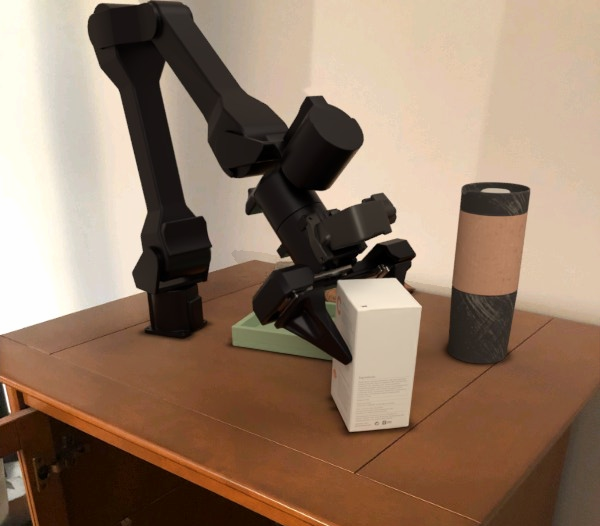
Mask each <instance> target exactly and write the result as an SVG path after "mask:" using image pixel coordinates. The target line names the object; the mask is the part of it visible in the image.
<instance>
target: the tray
mask: <svg viewBox="0 0 600 526" xmlns="http://www.w3.org/2000/svg"><path fill="white" fill-rule="evenodd" d="M325 303H326V309H327V311H328V313H329V314H330V316H331V318H332V320H333V321H334V323H335V311H336V303H332V302H325ZM274 323H275V322H273V323H270V324H267V325H264V326H263V325H262V324H261V323H260V322H259V320H258V318H257V317H256V315H255V313H254V311H253V310H252V312H250V313H249V314H247V315H246V316H245V317H243V318H242V319H240V320H239V321H237V322H236V323H234V324H233V325H231V341H232V342H231V343H232V346H235V347H241V348H247V349H248V348H249V349H254V350H261V351H267V352H273V353H281V354H288V355H293V356H301V357H307V358H314V359H321V360H326V361H333V357H331V356H330V355H328V354H327V353H325V352H324V351H322V350H320V349H319V348H317V347H316V346H314V345H313V344H311V343H309V342H308V341H306V340H304V339H302V338H300V337H299V336H297V335H295V334H293V333H291V332H289V331H287V330H286V329H284V328H280V329H276V328H275V326H274Z"/></svg>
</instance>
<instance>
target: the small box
mask: <svg viewBox="0 0 600 526" xmlns="http://www.w3.org/2000/svg"><path fill="white" fill-rule="evenodd" d="M422 313H423V306H422V305H421V304H420V303H419V302H418V300H416V298H414V296H413V295H412V294H411V292H408V291H407V290H406V289H405V288H404V287H403V286H402V284H401V283H400V282H399V281H398V280H397V279H396V278H382V279H354V280H338V281H337V292H336V311H335V325H336V327H337V328H338V330H339V332H340V334H341V335H342V337H343V339H344V341H345V342H346V344H347V346H348V348H349V350H350V353H351V355H352V358H353V360H352V362H351V363H350V364H348V365H344V364H342V363H341V362H339V361H337V360H336V359H334V358H333V360H332V365H331V368H332V370H331V384H330V385H331V386H330V394H331V395H330V396H331V397H332V399H333V401H334V403H335V405H336V407H337V409H338V412H339V413H340V416H341V418H342V420H343V422H344V424H345V426H346V428H347V431H348V432H350V433H352V432H366V431H375V430H376V431H377V430H387V429H395V428H397V429H398V428H406V427H408V426H409V424H410V418H411V417H410V416H411V409H412V399H413V389H414V380H415V373H416V364H417V357H418V356H417V355H418V347H419V337H420V330H421V329H420V328H421V320H422Z"/></svg>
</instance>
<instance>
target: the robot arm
mask: <svg viewBox="0 0 600 526" xmlns="http://www.w3.org/2000/svg"><path fill="white" fill-rule="evenodd" d="M86 28H87V35H88V40H89V42H90V44H91V45H92V48H93V51H94V54H95V57H96V60H97V64H98V66H99V68H100V69H101V71H102V72H103V73H104V74H105V75H106V77H107V78H108V80H110V82H112V84H113V85H114V86H115V87H116V89H117V90H118V93H119V96H120V101H121V104H122V108H123V113H124V118H125V121H126V126H127V130H128V131H127V132H128V135H129V139H130V143H131V148H132V152H133V155H134V160H135V163H136V168H137V173H138V177H139V182H140V186H141V189H142V190H141V191H142V195H143V198H144V204H145V208H146V215H145V218H144V221H143V225H142V229H141V231H140V236H139V237H140V242H141V251H142V252H141V254H140V256H139V257H138V259H137V261H136V264H135V266H134V268H133V269H132V271H131V276H132V279H133V282H134V286H135V288H136V289H138V290H140V291H143V292H144V293H145V292H146V298H147V306H148V313H149V314H148V316H149V323H150V324H149V325H147V326H145V327H144V328H143V331H144V333H146V334H154V335H160V336H167V337H173V338H181V339H183V338H184V339H185V338H187V337H188V336H190V335H192V334H193V333H194V332H196V331H197V330H199V329H201V328H203V327H204V326H205V325H207V324H208V320H207V319H206V318H204V310H203V309H204V307H203V297H202V295H201V294H200V293H199V283H200V284H201V283H206V282H207V283H208V278H209V273H210V266H211V261H212V248H213V244H212V242H211V240H210V236H209V233H208V232H209V231H208V222H207V220H206V218H205V217H204V215H198V216H197V215H195V212H193V211H192V210H191V209H190V207H189V206H188V205H187V202H186V199H185V194H184V189H183V185H182V180H181V176H180V170H179V167H178V161H177V157H176V152H175V148H174V144H173V138H172V135H171V129H170V126H169V121H168V117H167V116H168V115H167V111H166V106H165V103H164V97H163V93H162V88H161V78H162V75H163V73H164V69H165V66H166V64H167V65H168V67H169V68H170V69H171V70H172V72H173V74H174V75H175V76H176V78H177V80H178V81H179V83H180V84H181V86H182V87H183V88H184V89H185V91H186V93H187V94H188V95H189V97H190V98H191V100H192V101H193V103H194V104H195V106H196V107H197V108H198V110H199V111H200V113H201V114H202V116H203V119H204V120H205V122H206V123H207V138H206V139H207V144H208V145H209V148H210V149H211V151H212V154H213V155H214V157H215V160H216V161H217V164H218V165H219V167H220V169H221V170H222V172H223V173H224V174H225V175H226V176H227V177H229V178H230V179H246V178H252V177H253V178H254V177H260V176H261V178H260V179H259V181H258V182H257V184H256V186H254V187H249V188H248V189H247V199H246V202H245V205H244V206H245V208H244V211H245V214H246V215H247V216H253V215H254V216H255V215H259V214H263V216H264V218H265V219H266V221H267V222H268V224H269V226H270V227H271V229H272V230H273V232H274V234H275V235H276V237H277V239H278V240H279V242H280V245H279V246H278V248H277V249H276V253H277V255H278V256H279V258H280V259H282V260H283V259H285V258H290V260H291V262H293V263H294V264H295V265H292V266H289V267H285V268H281V269H277V270H275V269H273V270H271V272H270V273H269V275H268V276H267V278H266V279H265V280H264V281H263V283H262V285H260V287H259V288H258V290H257V291H256V292H255V294H254V295H253V296H252V300H251V304H252V312H253V311H254V313H255V315H256V317H257V318H258V320H259V322H260V323H261V324H262V325H263V326H264V325H267V324H270V323H273V322H275V323H274V326H275V328H276V329H280V328H284V329H286V330H287V331H289V332H291V333H293V334H295V335H297V336H299V337H300V338H302V339H304V340H306V341H308V342H309V343H311V344H313V345H314V346H316V347H317V348H319V349H320V350H322V351H324V352H325V353H327V354H328V355H330V356H331V357H333V358H334V359H336V360H337V361H339V362H341V363H342V364H344V365H348V364H350V363H351V362H352V360H353V358H352V355H351V353H350V350H349V348H348V346H347V344H346V342H345V341H344V339H343V337H342V335H341V334H340V332H339V330H338V328H337V327H336V325H335V323H334V321H333V320H332V318H331V316H330V314H329V313H328V311H327V309H326V303H325V291H327V290H330V289H334V288H337V281H338V280H354V279H382V278H396V279H397V280H398V281H399V282H400V283H401V284H402V286H403V287H404V288H405V286H404V282H405V283H406V276H407V273H408V271H409V270H410V269H411V268H412V266H413V265H412V264H413V263H412V262H413V260H414V259H415V258H416V257H417V253H416V252H415V251H414V249H413V247H412V245H411V244H410V242H409V241H408V240H407V239H405V238H400V237H396V238H392V239H388V240H385V241H384V240H383V241H380V242H377V243H376V244H375V245H374V246H372V248H371V249H370V250H369V251H368V252H367V253H366V254H365V255H364V256H363V258H362V259H361V260H358V258H357V257H358V256H359V255H361V254H363V253H364V252H365V251H366V250H367V248H368V247H369V245H368V244H367V243H366V242H367V241H370V240H372V239H374V238H377V237H379V236H383V235H384V236H387V235H389V234H391V233H393V229H392V225H393V224H395V223H396V221H397V217H398V215H397V207H395V206H394V204H393V202H392V201H391V200H390V199H389V197H388V196H387V195H386V194H385V193H384V192H378V193H373V194H371V195H370V197H366V198H365V197H364V198H363V199H361V203H355V204H353V205H351V206H347V207H345V208H344V209H338V208H337V207H336V208H331V209H328V208H327V207H326V206H325V204H324V202H323V200H322V199H321V198H320V196H319V195H318V193H317V192H325V191H327V190H329V189H331V188H332V186H334V184H335V182H337V180H338V178H339V177H340V176H341V174H342V173H343V172H344V170H345V169H346V168H347V166H348V165H349V164H350V163H351V161H352V159H353V158H354V157H355V156H356V154H357V153H358V152H359V150H360V149H361V148H362V146H363V145H364V142H365V136H364V132H363V129H362V127H361V125H360V123H359V122H358V120H357V119H356V118H354V117H351V116H350V115H349V114H348V113H346V112H345V111H344V110H343V109H341V108H339V107H337V106H336V105H333V104H330V103H328V102H327V100H326V98H325V97H324V95H307V96H305V97H304V100H303V101H302V103H301V105H300V107H299V108H298V112H297V114H296V116H295V117H294V119H293V120H292V122H291V124H290V126H288V125H287V123H286V122H285V120H283V119H282V118H281V116H280V115H278V114H277V113H276V111H274V109H272V108H271V107H270V105H268V104H267V103H265V102H264V101H261V100H259V99H258V98H256V97H254V96H252V95H250V94H248V93H247V91H245V89H243V88H242V87H241V85H240V84H239V83H238V81H237V80H236V78H235V77H234V75H233V74H232V73H231V71H230V70H229V68H228V67H227V66H226V64H225V63H224V61H223V60H222V58H221V57H220V55H219V54H218V52H216V50H215V49H214V47H213V46H212V44H211V43H210V42H209V40H208V39H207V37H206V36H205V35H204V33H203V32H202V30H201V29H200V28H199V26H198V25H197V23H196V22H195V19H194V14H193V11H192V10H191V7H190V6H188V5H187V4H184V3H183V2H182V1H177V0H148V1H147V2H142V3H139V4H134V3H112V2H101V3H98V4H97V5H96V6H95V7H94V10H93V13H91V14H90V15H89V16H88V19H87V25H86ZM345 274H347V275H345Z"/></svg>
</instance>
